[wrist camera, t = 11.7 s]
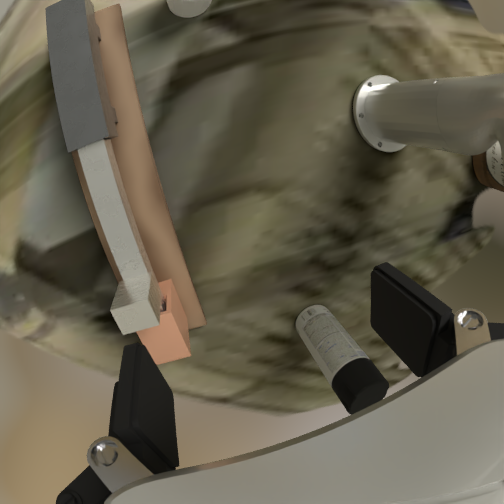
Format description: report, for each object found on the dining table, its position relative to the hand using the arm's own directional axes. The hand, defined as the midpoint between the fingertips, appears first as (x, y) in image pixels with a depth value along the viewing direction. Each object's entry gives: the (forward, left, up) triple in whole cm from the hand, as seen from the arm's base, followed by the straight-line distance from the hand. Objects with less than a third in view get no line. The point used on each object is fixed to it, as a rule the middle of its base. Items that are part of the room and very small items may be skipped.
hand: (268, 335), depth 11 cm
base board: (+10, -5, -30) cm, 32 cm away
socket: (+10, +13, -29) cm, 33 cm away
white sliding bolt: (+10, 0, -24) cm, 26 cm away
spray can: (-12, +26, -30) cm, 42 cm away
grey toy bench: (+10, -19, -29) cm, 36 cm away
